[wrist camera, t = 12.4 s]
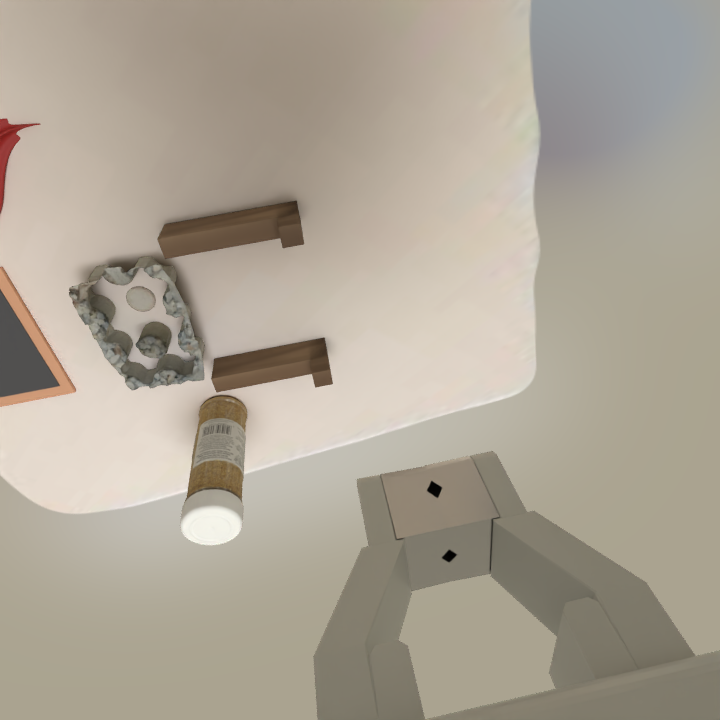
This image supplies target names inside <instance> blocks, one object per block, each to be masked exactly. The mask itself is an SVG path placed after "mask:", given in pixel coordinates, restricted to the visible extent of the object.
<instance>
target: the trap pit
mask: <svg viewBox="0 0 720 720" xmlns="http://www.w3.org/2000/svg"><path fill="white" fill-rule="evenodd" d="M74 392H76V389H75V387H74V386H73V384H72V382H71V381H70V379H69V377H68V376H67V374H66V372H65V371H64V369H63V367H62V366H61V364H60V362H59V361H58V359H57V357H56V356H55V354H54V352H53V351H52V349H51V347H50V346H49V344H48V342H47V341H46V339H45V337H44V336H43V334H42V332H41V331H40V329H39V327H38V326H37V324H36V322H35V321H34V319H33V317H32V316H31V314H30V312H29V311H28V309H27V307H26V306H25V304H24V302H23V301H22V299H21V297H20V296H19V294H18V292H17V291H16V289H15V287H14V286H13V284H12V282H11V281H10V279H9V277H8V276H7V274H6V272H5V271H4V269H3V267H0V407H2V406H7V405H12V404H17V403H22V402H28V401H33V400H38V399H43V398H48V397H54V396H59V395H64V394H69V393H74Z"/></svg>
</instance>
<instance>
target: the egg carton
mask: <svg viewBox="0 0 720 720" xmlns="http://www.w3.org/2000/svg"><path fill="white" fill-rule="evenodd" d="M138 268H144V271H145V272H147V273H148V274H149V276H151V277H152V278H158V279H161V280H164V281H165V282H166V283H167V284H168V287H167V289H166V292H165V294H164V297H163V304H164V306H165V308H166V311H167V313H166V314H167V315H172V316H173V317H176V318H177V317H179V316H184V320H183V323H182V327H181V330H180V333H179V335H178V338H179V339H178V344H179V346H180V348H181V349H182V350H184V352H188V353H190V355H196V357H195V360H193V361H185V360H182V359H181V358H180V357H178V356H176V355H173V354H167V355H165V354H166V353H167V351H168V347H169V344H170V340H171V336H172V334H171V331H170V329H169V328H168V327H167V326H166V325H164V324H162V323H159V322H152V323H149V324H147V325H146V326H145V327H144V329H143V331H142V334H141V336H140V338H139V341H138V342H137V343H136V347H137V348H139V350H140V352H141V353H142V354H143V355H145V356H147V357H150V358H159V362H158V365H157V368H156V369H152V370H148V369H146V368H145V367H144V366H143V365H141V364H140V363H136V362H130V361H129V360H128V359H127V358H128V356H129V353H130V350H131V348H132V345H133V343H132V339H131V338H130V336H129V335H128V334H126V333H125V332H122V331H118V330H114V328H113V327H112V326H111V324H110V322H111V320H112V319H113V316H114V314H115V306H114V304H113V303H112V302H111V301H110V299H108V298H107V297H104V296H101V295H95V294H94V293H93V291H92V289H91V287H90V286H91V285H94V284H96V283H97V282H98V280H99V279H100V278H101V276H103V277H104V278H105V279H106V280H107V281H108V282H110V283H112V284H116V285H126V284H128V283H130V282H131V281H132V280H133V278H134V276H135V275H136V273H137V270H138ZM176 279H177V275H176V272H175V270H174V268H173V267H172V266H164V265H161V264H159V263H158V262H156V261H155V259H154V258H153V257H151V256H149V257H141V258H139V260H138V262H137V264H136V265H135V267H134V268H132V269H130V270H128V272H125V271H124V270H123V269H122V268H121V267H114V268H111V267H110V266H109V265H102V266H97V267H96V268H95V270H94V271H93V273H92V274H91V276H90V278H89V283H81V284H79V285H76V286H72V287H70V288H69V291H70V292H69V296H70V297H71V298H72V300H73V305H74V307H75V308H76V309H77V311H78V314H79V316H80V317H81V319H82V320H83V322H84V323H85V325H86V324H88V325H89V327H90V330H91V332H92V335H93V337H94V339H96V340H97V342H98V344H99V346H100V347H101V349H102V351H103V354H104V356H105V358H106V359H107V360H108V361H109V362H110V364H111V365H112V366H113V367H114V368H115V369H116V370H117V371H118V373H119V374H120V375H122V376H124V377H125V383H126V385H127V386H128V387H129V388H130V389H131V390H136V389H137V388H139V387H142V386H149V387H150V388H154V387H156V386H159V385H166V386H167V385H171V384H182V383H183V382H185V381H187V380H190V381H200V380H204V366H203V361H202V358H203V353H204V347H205V345H204V342H203V340H202V338H200V337H194V332H193V328H192V326H191V323H190V317H191V314H192V313H191V310H190V307H189V305H188V304H187V303H184V302H183V300H182V298H181V296H180V294H179V292H178V290H177V288H176V286H175V282H176ZM126 299H127V302H128V303H129V305H130V306H131V307H132V308H134V309H135V310H138V311H142V312H145V311H149V310H151V309H152V308H153V307H154V305H155V302H156V299H155V296H154V294H153V293H152V292H151V291H150V290H149V289H147V288H144V287H141V286H137V287H133V288H131V289H130V290H129V291H128V292H127V295H126Z"/></svg>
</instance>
